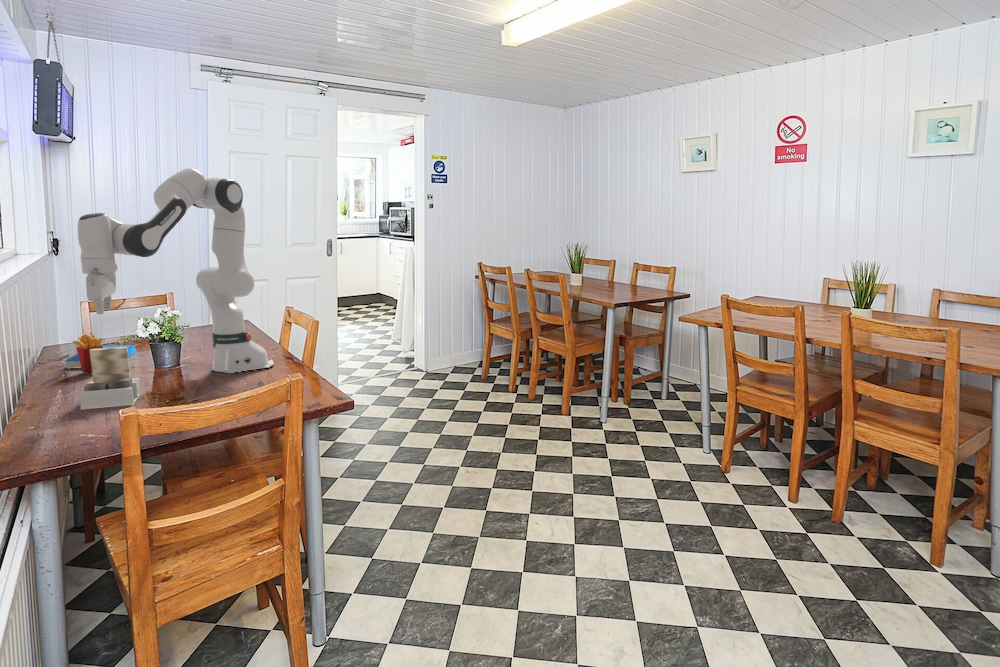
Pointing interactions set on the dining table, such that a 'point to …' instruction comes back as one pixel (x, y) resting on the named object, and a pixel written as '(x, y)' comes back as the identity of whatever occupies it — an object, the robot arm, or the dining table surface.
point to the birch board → (109, 364)
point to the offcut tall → (120, 383)
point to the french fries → (87, 350)
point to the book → (75, 360)
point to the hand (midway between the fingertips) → (104, 311)
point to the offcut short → (96, 386)
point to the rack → (110, 396)
